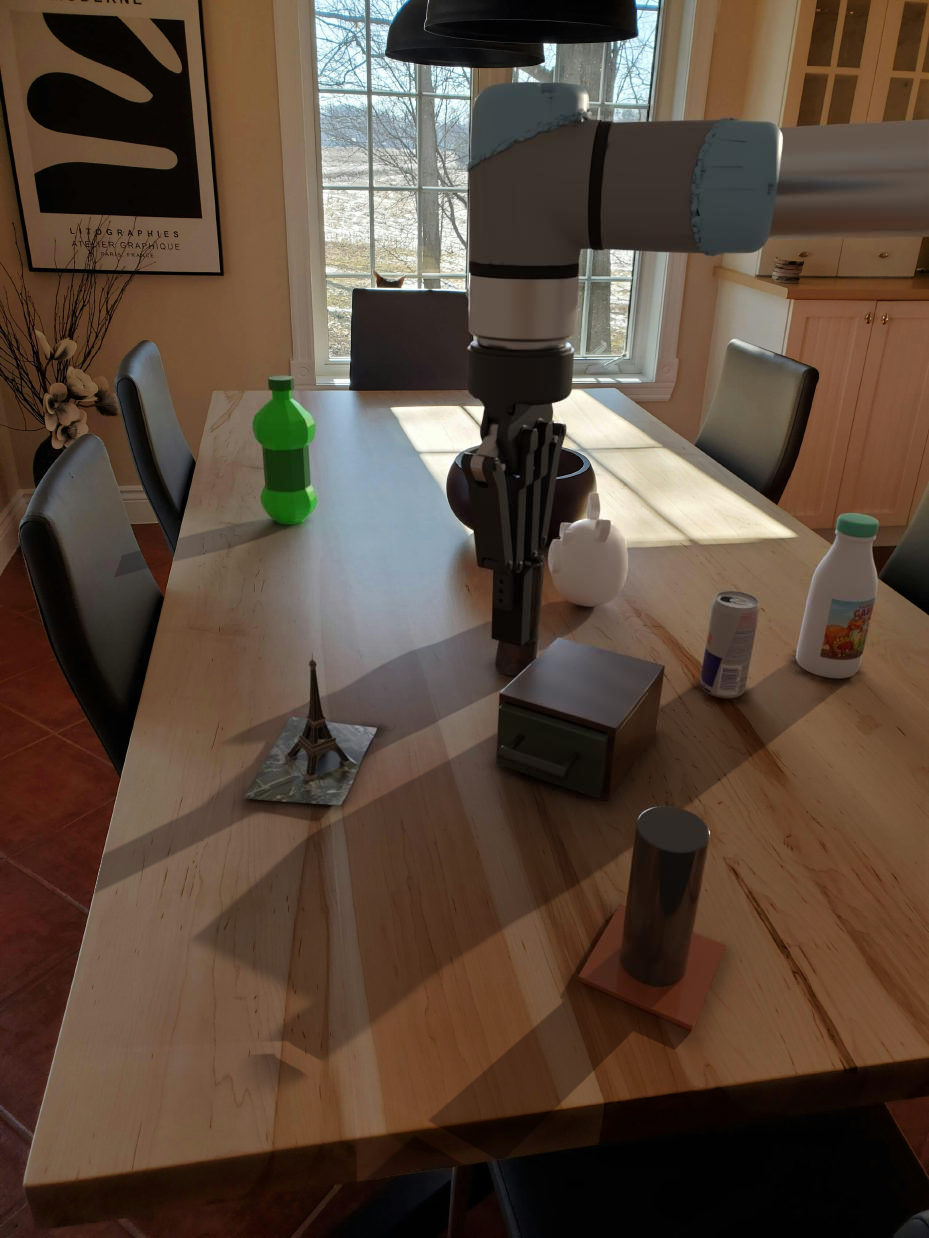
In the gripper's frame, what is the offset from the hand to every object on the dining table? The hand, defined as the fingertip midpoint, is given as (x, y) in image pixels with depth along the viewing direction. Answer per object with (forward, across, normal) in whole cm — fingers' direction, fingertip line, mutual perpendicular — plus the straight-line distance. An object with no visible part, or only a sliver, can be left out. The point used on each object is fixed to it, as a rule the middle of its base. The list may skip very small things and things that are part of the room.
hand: (510, 638), depth 73 cm
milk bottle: (+22, -53, +20) cm, 61 cm away
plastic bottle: (+21, -59, -74) cm, 97 cm away
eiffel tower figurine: (+22, -2, -23) cm, 32 cm away
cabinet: (+22, -19, 0) cm, 29 cm away
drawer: (+21, -15, 0) cm, 26 cm away
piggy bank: (+22, -54, -14) cm, 60 cm away
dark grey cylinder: (+21, +6, +16) cm, 28 cm away
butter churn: (+22, -31, -14) cm, 40 cm away
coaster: (+22, +6, +16) cm, 28 cm away
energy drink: (+22, -40, +10) cm, 47 cm away
